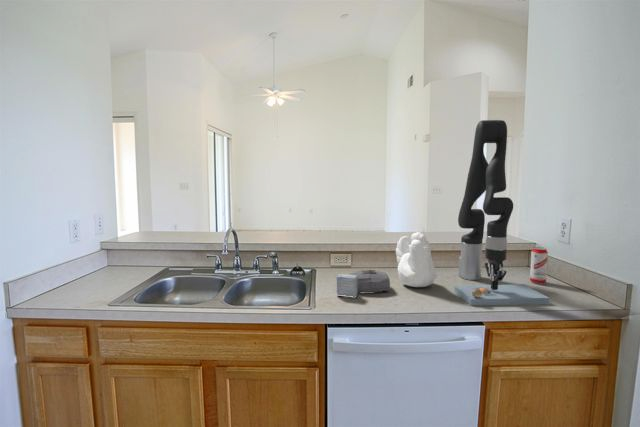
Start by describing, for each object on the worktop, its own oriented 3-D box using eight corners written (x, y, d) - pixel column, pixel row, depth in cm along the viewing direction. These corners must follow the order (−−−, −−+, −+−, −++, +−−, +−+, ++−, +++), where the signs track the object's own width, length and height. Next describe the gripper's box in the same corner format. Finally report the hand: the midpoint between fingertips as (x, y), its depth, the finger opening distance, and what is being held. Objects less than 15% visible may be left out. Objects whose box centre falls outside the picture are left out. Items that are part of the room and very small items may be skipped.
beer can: (548, 285, 152) (550, 249, 150) (533, 284, 153) (535, 249, 151) (542, 280, 158) (544, 246, 156) (527, 280, 159) (529, 246, 157)
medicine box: (357, 295, 144) (357, 275, 143) (355, 298, 139) (355, 278, 138) (339, 293, 146) (339, 273, 145) (336, 296, 142) (336, 276, 141)
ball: (477, 299, 139) (473, 289, 139) (484, 296, 140) (481, 287, 141) (484, 299, 135) (480, 289, 136) (491, 296, 136) (488, 286, 137)
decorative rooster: (442, 290, 147) (443, 234, 144) (407, 292, 145) (407, 235, 142) (419, 274, 172) (420, 225, 169) (389, 275, 170) (389, 226, 167)
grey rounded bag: (385, 283, 159) (342, 284, 158) (385, 265, 158) (342, 267, 157) (392, 294, 144) (345, 296, 143) (393, 275, 143) (345, 276, 142)
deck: (524, 290, 146) (524, 284, 146) (549, 304, 130) (549, 297, 130) (454, 291, 146) (454, 285, 146) (470, 305, 130) (470, 299, 130)
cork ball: (469, 296, 132) (469, 288, 132) (475, 295, 134) (476, 286, 133) (477, 299, 129) (477, 290, 129) (483, 298, 131) (484, 289, 130)
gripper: (478, 244, 142) (477, 284, 144) (495, 251, 129) (493, 295, 131) (496, 243, 142) (495, 283, 144) (514, 250, 129) (512, 294, 131)
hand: (494, 289), depth 138 cm, fingers closed
